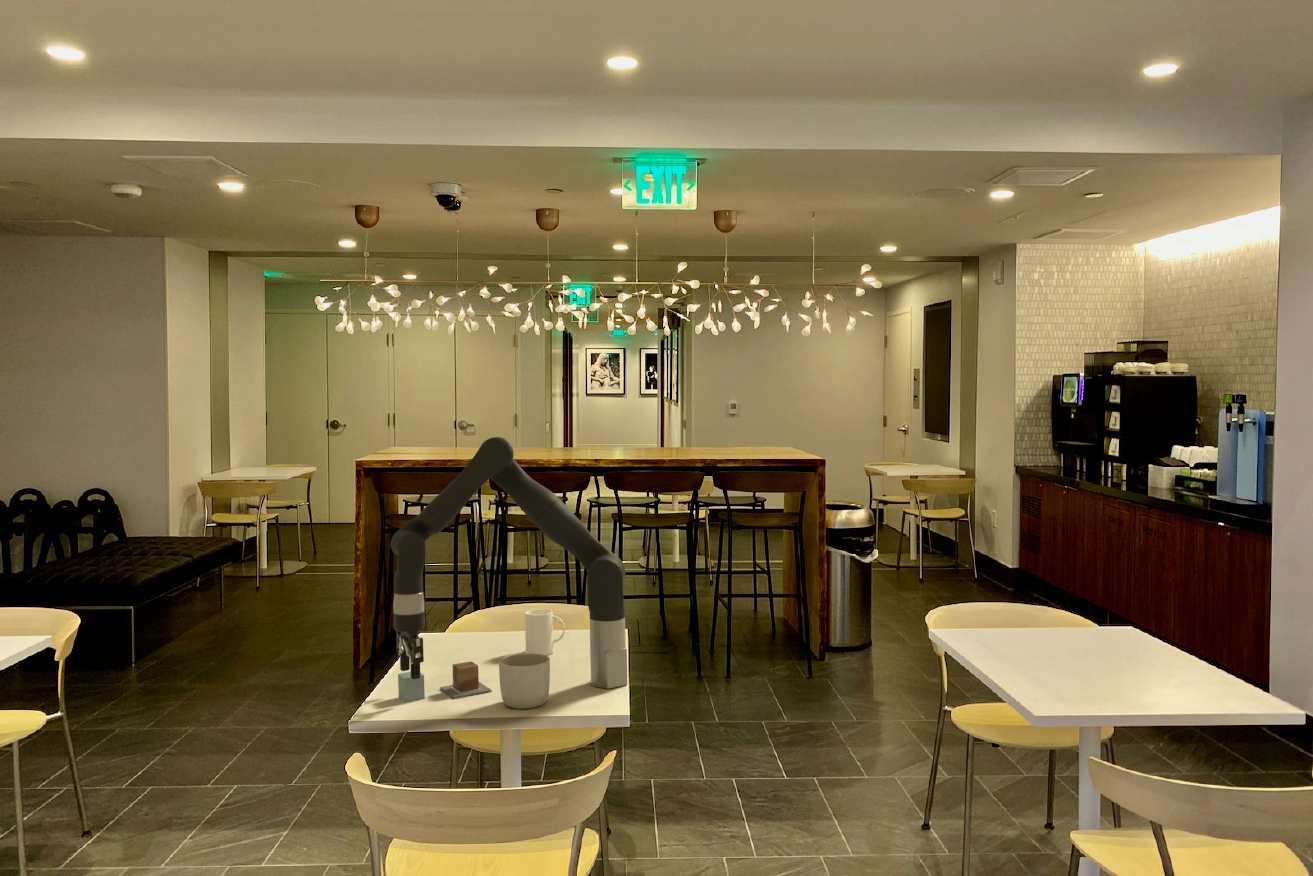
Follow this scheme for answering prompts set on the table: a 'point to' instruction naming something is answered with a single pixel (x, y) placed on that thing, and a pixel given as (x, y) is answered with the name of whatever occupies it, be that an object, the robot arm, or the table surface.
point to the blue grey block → (410, 687)
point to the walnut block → (465, 676)
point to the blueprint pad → (457, 694)
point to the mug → (540, 631)
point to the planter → (524, 680)
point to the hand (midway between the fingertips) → (410, 674)
